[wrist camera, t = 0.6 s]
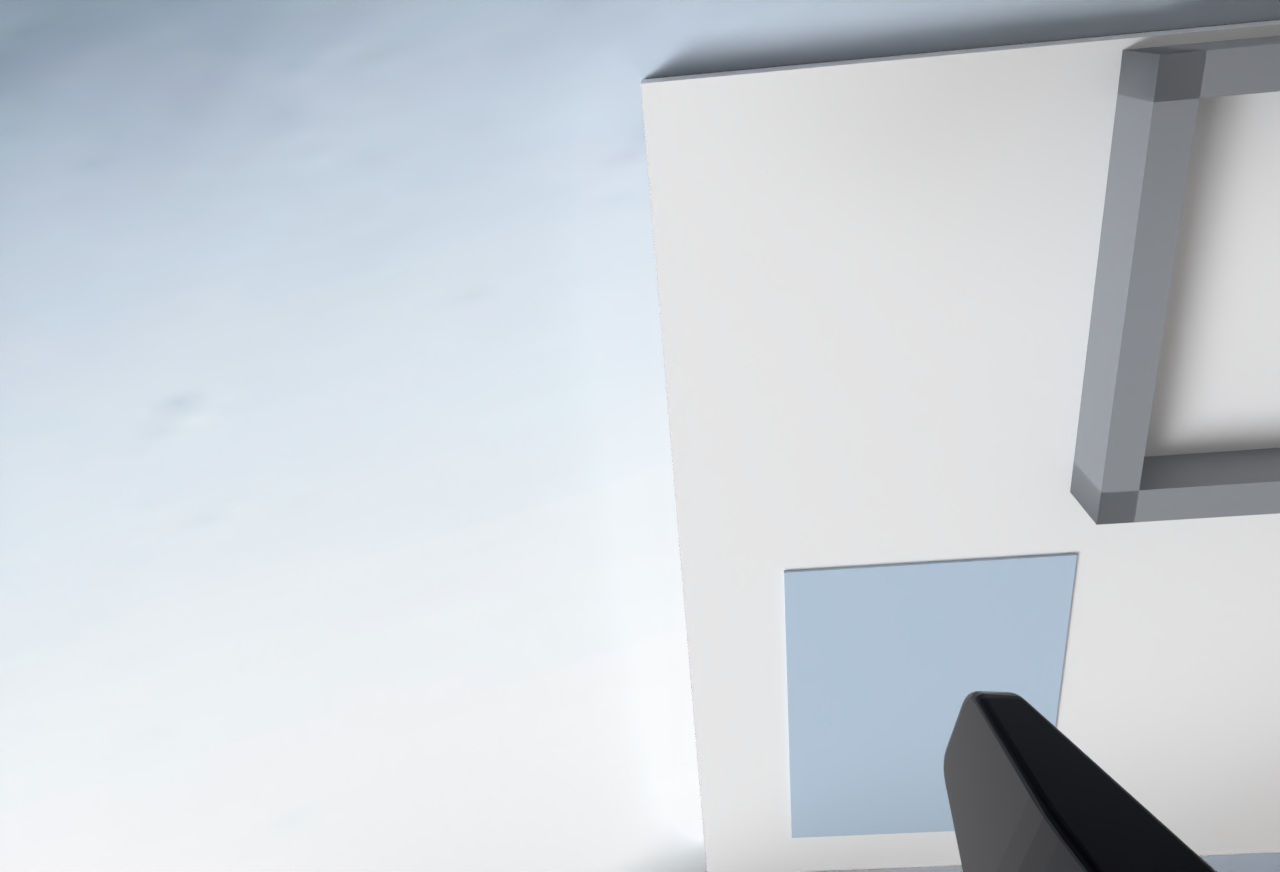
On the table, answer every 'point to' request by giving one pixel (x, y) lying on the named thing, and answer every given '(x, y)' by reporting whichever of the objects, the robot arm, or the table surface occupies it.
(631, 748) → the table surface
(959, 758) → the robot arm
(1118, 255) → the base plate
